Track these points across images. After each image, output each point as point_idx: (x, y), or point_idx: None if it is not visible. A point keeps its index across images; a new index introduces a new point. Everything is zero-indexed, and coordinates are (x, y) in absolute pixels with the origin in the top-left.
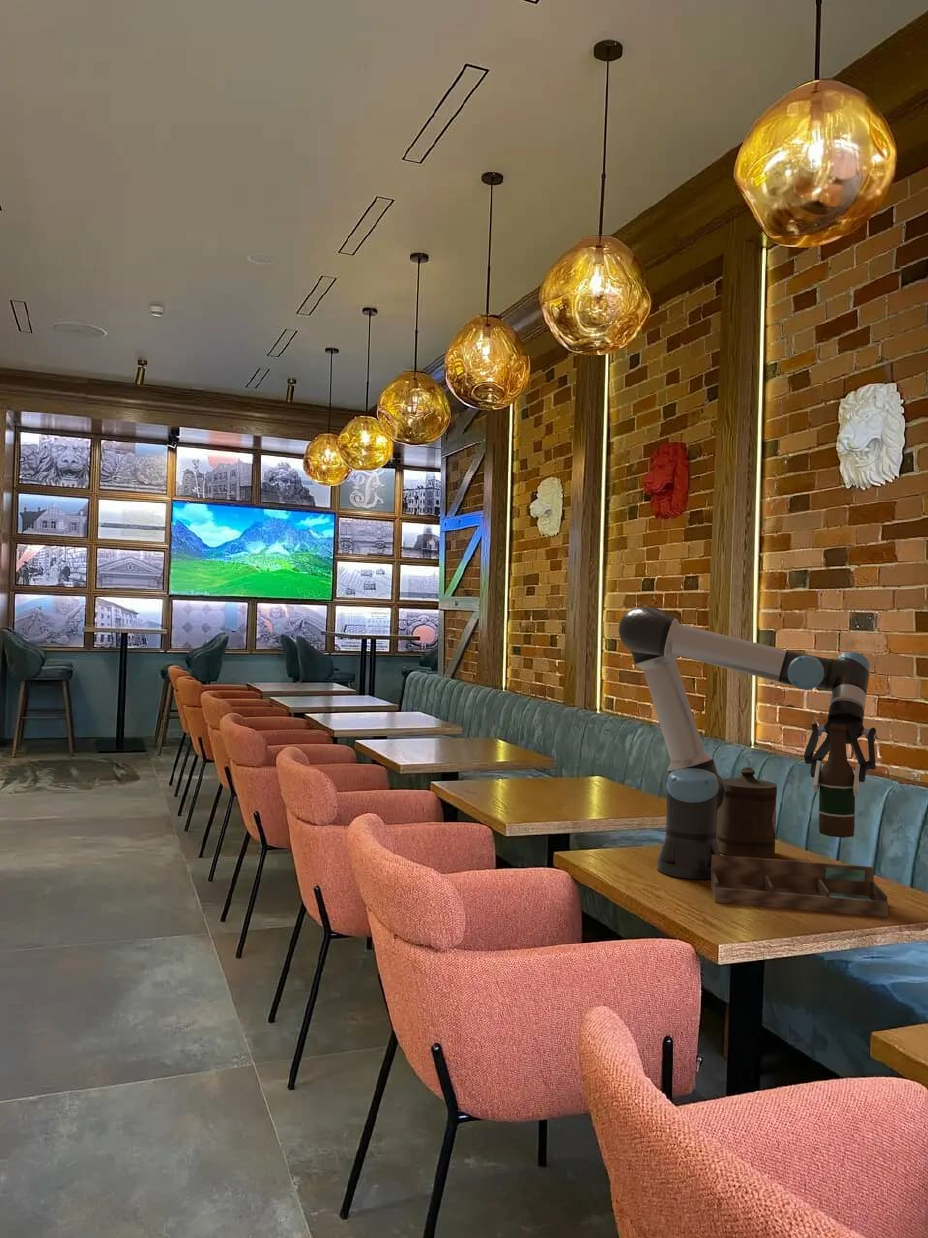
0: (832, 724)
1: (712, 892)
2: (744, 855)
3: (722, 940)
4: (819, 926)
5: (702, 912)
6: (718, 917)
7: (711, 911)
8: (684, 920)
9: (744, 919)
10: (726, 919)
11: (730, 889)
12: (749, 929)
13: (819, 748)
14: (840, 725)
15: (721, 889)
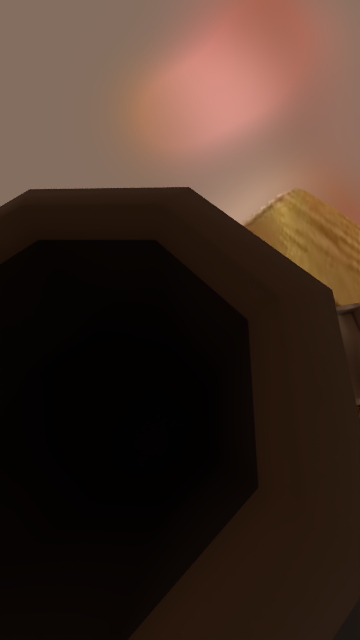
0: (269, 270)
1: None
2: None
3: (298, 193)
4: None
5: (348, 265)
6: (324, 256)
7: (339, 273)
8: (354, 230)
9: (295, 262)
10: (313, 253)
11: (338, 306)
12: (281, 233)
13: (357, 626)
14: (40, 192)
15: (351, 304)
